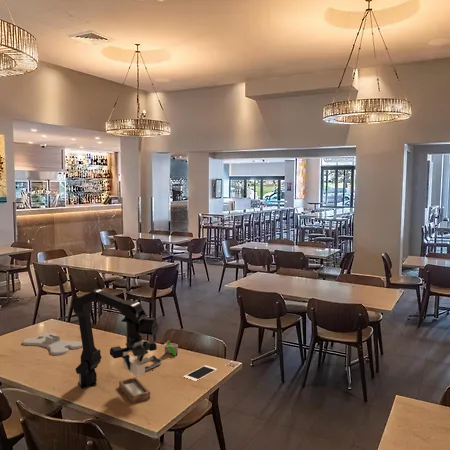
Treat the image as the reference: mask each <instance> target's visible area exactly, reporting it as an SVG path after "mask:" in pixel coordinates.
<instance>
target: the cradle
mask: <svg viewBox="0 0 450 450" xmlns="http://www.w3.org/2000/svg"><path fill="white" fill-rule="evenodd" d="M118 383H119V385H118V386H119V388H120V389H121V391H122V392H123V393H124V395H125V396H126V397H127V398H128V399H129V401H130V402H131V403H137V402H140V401H145V400H149V399H150V398H151V391H150V390H149V389H148V388H147V386H146V385H144V384H143V383H142V382H141V380H140V379H138V377H137V376H134V377H131V378H126V379H122V380H121V379H120V380H118Z"/></svg>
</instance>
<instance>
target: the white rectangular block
mask: <svg viewBox="0 0 450 450" xmlns="http://www.w3.org/2000/svg"><path fill="white" fill-rule="evenodd" d="M129 356H130V358H129V361H130V370H128V367H127V365H126V363H125V360H124V358H122V365H123V367H122V368H123V369H125V370H126V371H127V372H129V373H131V374H132V375H134V377H137V378H138V377H141V376H145V375H146V371H145V367H146V364H145V363H142V362H141V361H139V360H137V358H136V357H135V356H133V355H129Z"/></svg>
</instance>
